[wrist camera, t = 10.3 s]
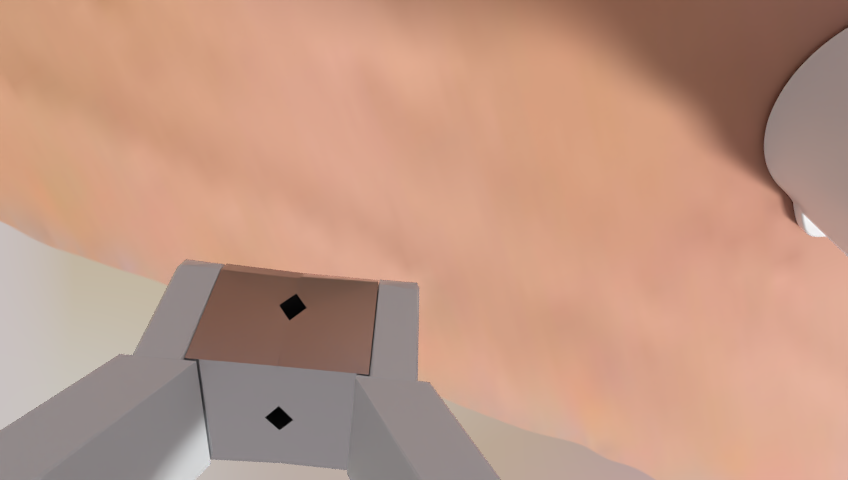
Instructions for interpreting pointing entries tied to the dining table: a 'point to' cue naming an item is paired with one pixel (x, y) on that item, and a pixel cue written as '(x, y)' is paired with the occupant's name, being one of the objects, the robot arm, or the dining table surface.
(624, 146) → the dining table surface
